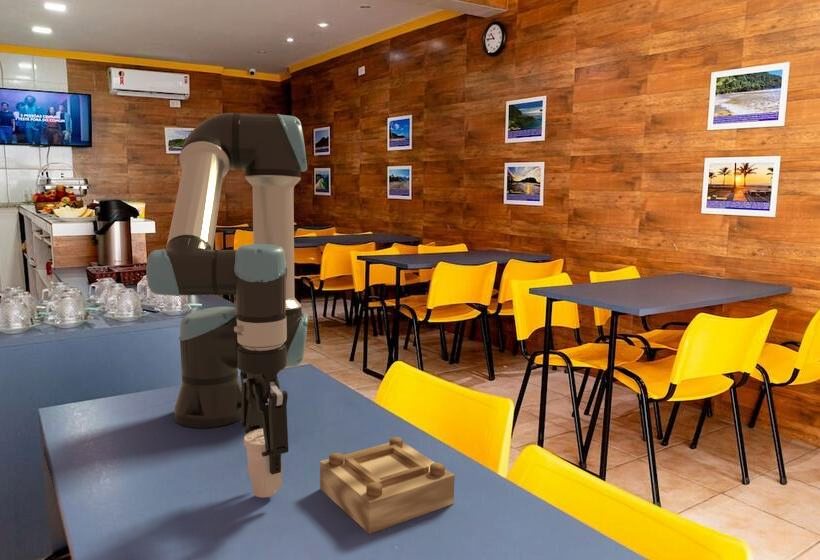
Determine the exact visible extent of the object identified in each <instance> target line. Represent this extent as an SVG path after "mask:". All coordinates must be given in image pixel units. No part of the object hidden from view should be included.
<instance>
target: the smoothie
mask: <svg viewBox="0 0 820 560" xmlns="http://www.w3.org/2000/svg"><path fill="white" fill-rule="evenodd" d="M243 446H244V447H245V449H246V455H247V464H248V463H249V469H250V475H249V476H250V481H251V486H252V494H253V496H256V497H257V498H269V497H273V496H274V495H275V494H276V493H277V491H278V490H275V491H272V492H269V493H265V492H264V461H263V456H262V453H261V452H265V451H266V447H265V440H264V433H263V429H257V430H253V431H251V432H249V433H247V434H246V433H245V435H243Z"/></svg>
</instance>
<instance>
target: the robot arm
mask: <svg viewBox="0 0 820 560" xmlns="http://www.w3.org/2000/svg"><path fill="white" fill-rule="evenodd" d="M304 138H305V137H304V133H303V126H302V123H301V120H300V119H299V118H298V117H296V116H294V115H288V114H287V115H286V114H280V113H277V114H273V113H241V112H240V113H239V112H238V113H236V112H224V113H219V114H216V115H213V116H210V117H209V118H207V119H206V120H204V121H202V122H201V123H200V124H198V125H197V126H196V127H195V128H193V130H191V132H190V133H189V134H188V135H187V137H186V139H185V140H184V142H183V143H182V146H181V149H180V154H179V165H180V167H181V169H182V171H181V176H180V181H179V186H178V190H177V195H176V199H175V204H174V207H173V209H174V210H173V214H172V219H171V223H170V228H169V233H168V238H167V242H166V247H165V248H161V249H154V250H151V252H150V253H149V254H148V256H147V260H146V270H145V271H146V280H147V281H146V282H147V286H148V289H149V290H150V292H151V293H152V294H154V295H157V296H158V295H161V296H173V297H174V296H175V297H179V296H202V295H203V296H206V295H207V296H208V295H213V296H214V295H215V296H217V295H219V296H226V295H227V296H230V295H231V296H232V295H233V296H234V295H235V297H236V298H235V300H236V307H234V306H214V307H208V308H203V309H199V310H195V311H193V312H190V313H187V314H186V315H185V316H184V317H182V319H181V320H180V324H179V337H178V339H179V342H180V343H179V344H180V346H179V347H180V348H179V349H180V366H181V367H180V368H181V385H180V388H179V390H178V391H179V392H178V395H177V399H176V402H175V404H174V421H176V423H177V424H179V425H182V426H184V427H190V428H196V429H198V428H200V429H201V428H202V429H203V428H204V429H205V428H208V429H209V428H218V427H223V426H227V425H230V424H233V423H236V422H238V421H241V423H240V426H241V427H242V428H244V431H245V435H246V434H247V433H249V432H251V431H253V430H257V429H263V433H264V440H265V447H266V451H265V452H261V453H262V456H263V461H264V492H265V493H269V492H272V491H275V490H277V491H278V490H282V489H283V466H282V465H283V462H282V455H283V454H286V453H288V452H289V433H288V413H287V411H288V409H287V404H288V397H289V396H288V392H287V391H286V390H282V391H281V390H280V381H279V379H278V374H279V373H280V372H281V371H282V370H284V369H285V368H287V367H296V366H299V365H300V364H302V362H303V360H304V355H305V349H306V342H307V335H308V325H309V323H308V322H309V314H308V313H305V312H304V311H302V309H303V308H302V304H301V302H299V301H298V300H297V299H296V297H295V295H296V294H295V225H294V224H295V223H294V222H295V218H294V217H295V216H294V214H295V210H294V205H295V203H294V200H295V199H294V198H295V197H294V195H295V194H294V193H295V192H294V189H295V186H296V185H297V184H298V183H299V182H300V181H301V180H302V179H301V172H302V173H304V172H306V171H307V170H308V163H307V155H306V154H307V153H306V146H305V139H304ZM230 170H238V171H239V170H241V171H244V179H245V180H246V181H247V182H248V183H249V184H250V185H251V186H252V229H253V230H252V235H253V237H252V238H253V240H252V242H253V243H251V244H250V243H249V244H245V245H241V246H238V247H237V249H214V246H215V245H214V243H215V236H216V230H217V222H218V214H219V208H220V200H221V192H222V185H223V178H224V177H225V176H226V175H227V174H228V172H229V171H230ZM239 371H240V373H239ZM239 376H240V379H239ZM247 474H248V475H249V476H251V475H250V469H249V463H248V462H247Z"/></svg>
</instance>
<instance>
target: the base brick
mask: <svg viewBox="0 0 820 560" xmlns="http://www.w3.org/2000/svg"><path fill="white" fill-rule="evenodd" d="M455 478H456V477H455V474H454V473H452V472H451V471H449V470H448V469H446V466H445V465H444V464H443V463H440V462H435V461H433V460H432V459H430V458H429V457H427V456H426V455H424V454H422V453H421V452H420V451H417V450H416V449H415V448H413V447H412V446H410V445H408V444H407V443H406V442H404V439H403V438H402V437H399V436H395V437H394V436H393V437H390V438H389V442H386V443H383V444H380V445H376V446H371V447H368V448H363V449H360V450H356V451H353V452H349V453H345V454H343V453H340V452H334V453H331V454H329V456H328V458H327V459H323V460H320V461H319V489H320V491H322V492H323V493H324V494H325V495H326V496H327V497H328V498H329V499H331V501H333V503H335V504H336V505H337V506H339V508H340V509H341V510H343V512H345V513H346V514H347V515H348V516H349V517H350V518H351V519H352V520H353V521H355V523H357V524H358V525H359V526H360V527H361V528H362V529H363V530H364V531H365V532H367V533H368V534H369V535H371V534H374V533H376V532H380V531H383V530H385V529H387V528H391V527H393V526H396V525H398V524H401V523H403V522H404V523H405V522H407V521H409V520H410V521H411V520H412V519H416V518H418V517H421V516H424V515H426V514H429V513H432V512H434V511H438V510H440V509H443V508H446V507H447V506H452V505H454V504H455V502H454V501H455V500H454V499H455Z"/></svg>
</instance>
